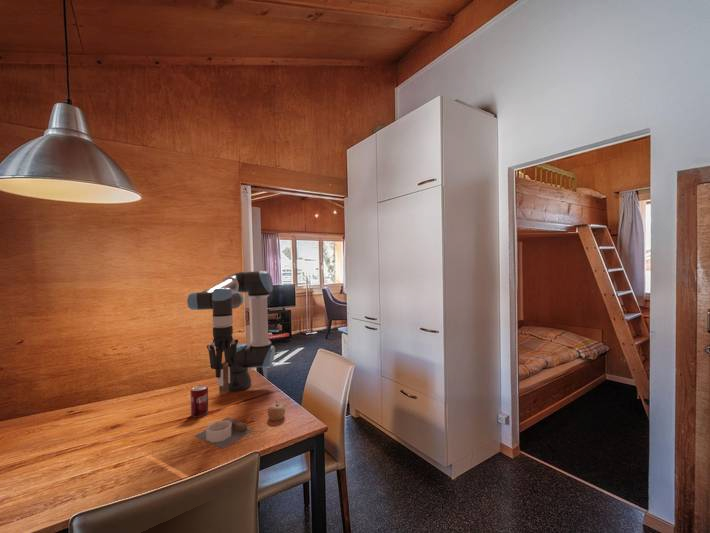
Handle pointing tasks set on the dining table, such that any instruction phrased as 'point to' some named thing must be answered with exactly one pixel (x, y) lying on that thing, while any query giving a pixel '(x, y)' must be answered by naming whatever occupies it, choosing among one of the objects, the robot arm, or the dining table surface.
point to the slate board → (226, 442)
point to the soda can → (199, 401)
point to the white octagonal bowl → (219, 431)
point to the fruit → (276, 412)
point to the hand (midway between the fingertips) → (223, 383)
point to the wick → (237, 425)
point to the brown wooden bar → (224, 379)
